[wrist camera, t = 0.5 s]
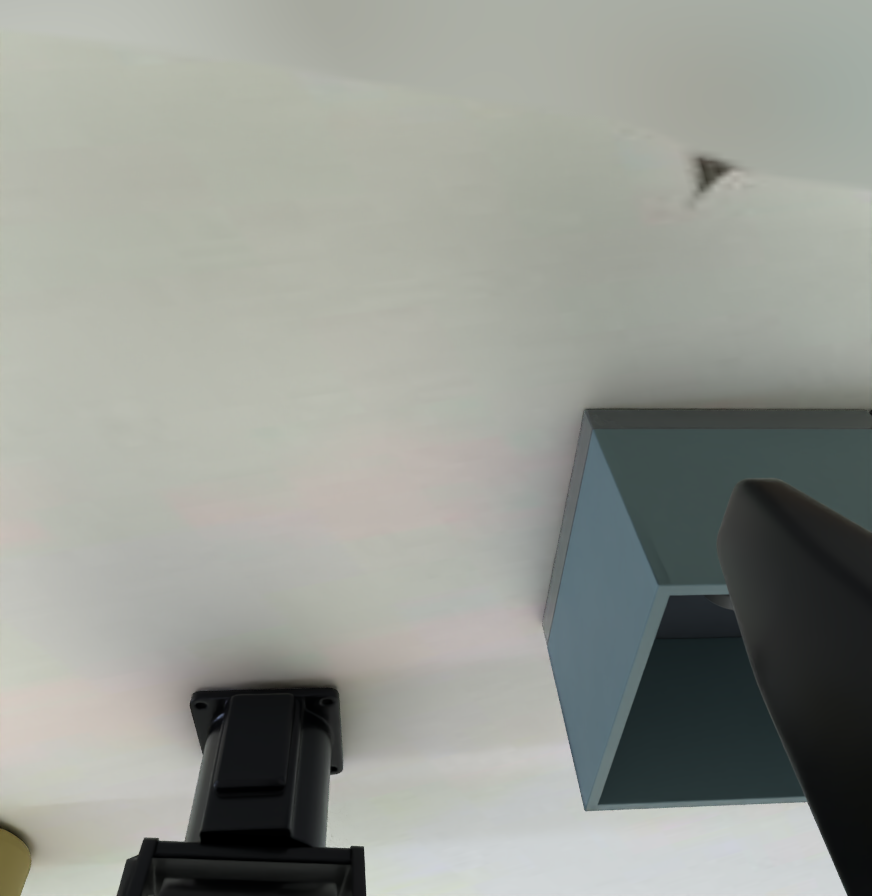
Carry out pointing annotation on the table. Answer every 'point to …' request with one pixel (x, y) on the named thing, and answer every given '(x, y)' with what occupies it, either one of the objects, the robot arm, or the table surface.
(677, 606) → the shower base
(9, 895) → the paper tube
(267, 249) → the table surface
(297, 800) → the robot arm
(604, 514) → the hinged door cabinet
